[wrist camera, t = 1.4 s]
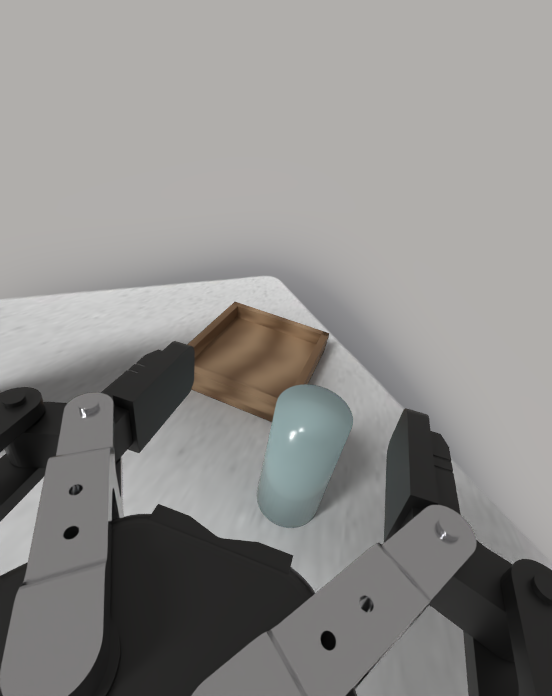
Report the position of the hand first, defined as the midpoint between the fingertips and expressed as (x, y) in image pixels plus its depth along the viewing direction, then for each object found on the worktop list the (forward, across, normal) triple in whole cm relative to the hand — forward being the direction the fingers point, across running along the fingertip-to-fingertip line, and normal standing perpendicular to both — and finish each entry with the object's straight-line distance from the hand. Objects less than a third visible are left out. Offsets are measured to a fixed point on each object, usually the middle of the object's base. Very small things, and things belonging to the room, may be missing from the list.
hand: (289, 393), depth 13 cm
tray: (+29, +10, +20) cm, 37 cm away
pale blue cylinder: (+11, 0, +22) cm, 24 cm away
